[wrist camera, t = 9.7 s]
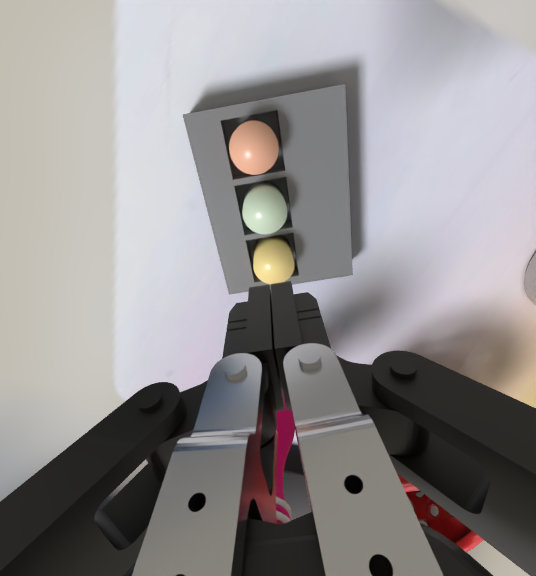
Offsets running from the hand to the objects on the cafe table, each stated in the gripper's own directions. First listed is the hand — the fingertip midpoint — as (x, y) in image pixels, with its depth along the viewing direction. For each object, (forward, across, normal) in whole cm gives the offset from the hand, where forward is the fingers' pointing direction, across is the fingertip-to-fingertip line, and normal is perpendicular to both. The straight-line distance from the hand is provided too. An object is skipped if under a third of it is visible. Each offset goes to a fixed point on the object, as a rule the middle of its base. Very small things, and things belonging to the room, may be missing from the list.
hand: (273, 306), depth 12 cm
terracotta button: (+14, 0, -4) cm, 15 cm away
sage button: (+14, 0, 0) cm, 14 cm away
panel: (+15, -1, 0) cm, 15 cm away
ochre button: (+14, 0, +4) cm, 15 cm away
